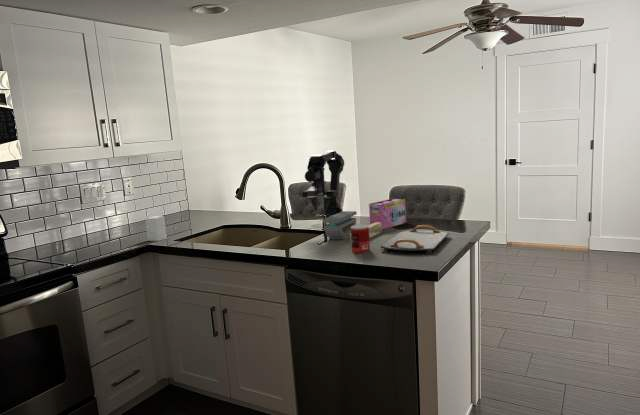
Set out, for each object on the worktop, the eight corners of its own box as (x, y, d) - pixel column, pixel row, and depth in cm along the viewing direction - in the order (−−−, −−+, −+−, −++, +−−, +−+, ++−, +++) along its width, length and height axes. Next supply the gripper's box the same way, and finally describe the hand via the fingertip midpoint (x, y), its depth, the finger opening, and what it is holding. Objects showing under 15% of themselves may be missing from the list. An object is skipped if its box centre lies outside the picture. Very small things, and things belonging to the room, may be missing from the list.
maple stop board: (350, 244, 222) (349, 233, 221) (376, 231, 247) (375, 222, 246) (356, 244, 220) (355, 234, 219) (381, 231, 246) (381, 222, 245)
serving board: (432, 257, 191) (432, 242, 190) (377, 254, 201) (376, 240, 200) (451, 237, 225) (450, 224, 224) (403, 235, 235) (402, 223, 235)
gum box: (396, 221, 273) (395, 197, 271) (408, 222, 267) (407, 198, 265) (369, 228, 257) (368, 203, 255) (381, 230, 251) (380, 204, 249)
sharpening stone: (343, 231, 253) (342, 211, 252) (357, 231, 250) (356, 211, 249) (323, 241, 231) (322, 219, 230) (338, 242, 228) (337, 219, 226)
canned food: (371, 249, 209) (370, 224, 208) (367, 253, 202) (366, 228, 200) (354, 249, 212) (353, 224, 210) (349, 253, 204) (348, 228, 203)
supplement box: (167, 238, 268) (164, 215, 266) (157, 241, 261) (155, 218, 260) (157, 237, 271) (154, 215, 269) (147, 240, 264) (144, 218, 263)
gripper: (294, 182, 240) (296, 212, 242) (327, 181, 231) (329, 213, 233) (306, 179, 250) (308, 209, 252) (337, 179, 240) (339, 209, 242)
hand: (320, 210), depth 244 cm, fingers open, 5 cm apart
